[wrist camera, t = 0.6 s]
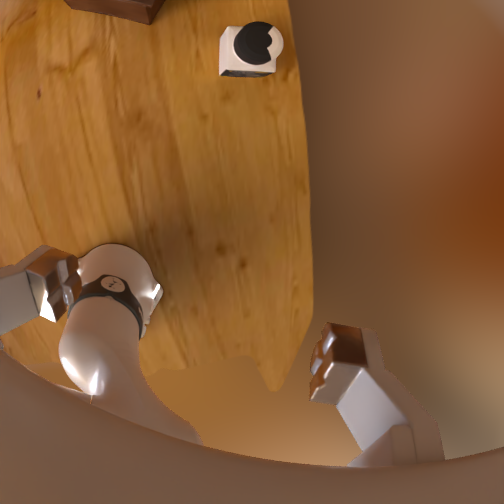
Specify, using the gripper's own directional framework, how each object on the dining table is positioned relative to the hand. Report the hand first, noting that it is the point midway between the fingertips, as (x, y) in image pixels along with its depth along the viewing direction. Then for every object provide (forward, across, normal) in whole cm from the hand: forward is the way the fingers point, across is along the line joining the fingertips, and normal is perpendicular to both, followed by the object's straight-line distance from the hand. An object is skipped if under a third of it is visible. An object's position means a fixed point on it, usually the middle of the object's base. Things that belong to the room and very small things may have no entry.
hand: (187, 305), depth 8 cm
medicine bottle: (+42, -9, +13) cm, 45 cm away
